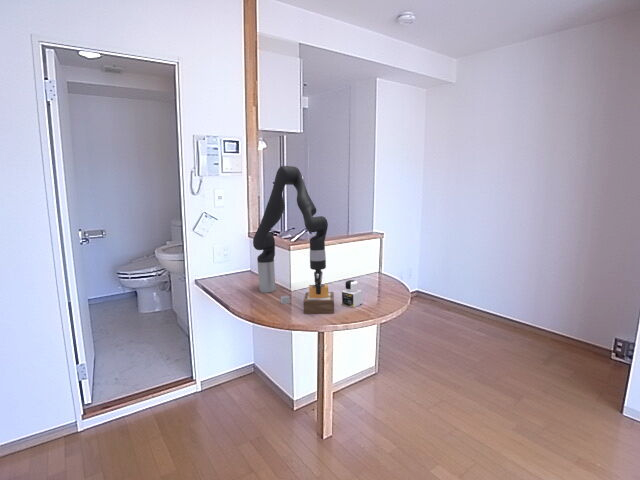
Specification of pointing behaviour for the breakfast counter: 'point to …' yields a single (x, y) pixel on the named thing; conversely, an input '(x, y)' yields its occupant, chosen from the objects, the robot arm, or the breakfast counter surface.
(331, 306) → the brown square box
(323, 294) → the block
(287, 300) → the grey metal block
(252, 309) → the breakfast counter surface
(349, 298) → the medicine bottle
